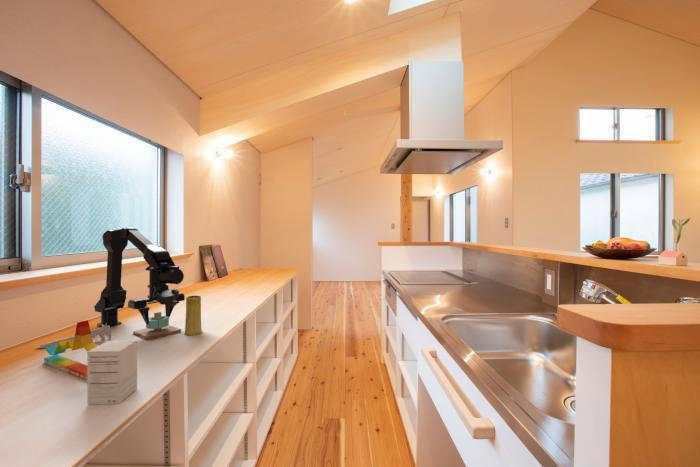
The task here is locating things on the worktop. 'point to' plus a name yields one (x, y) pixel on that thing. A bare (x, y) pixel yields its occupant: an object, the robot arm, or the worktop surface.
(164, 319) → the ring
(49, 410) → the worktop surface
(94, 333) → the caliper
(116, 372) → the supplement box
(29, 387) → the worktop surface
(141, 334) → the post stand
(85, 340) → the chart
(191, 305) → the vase
